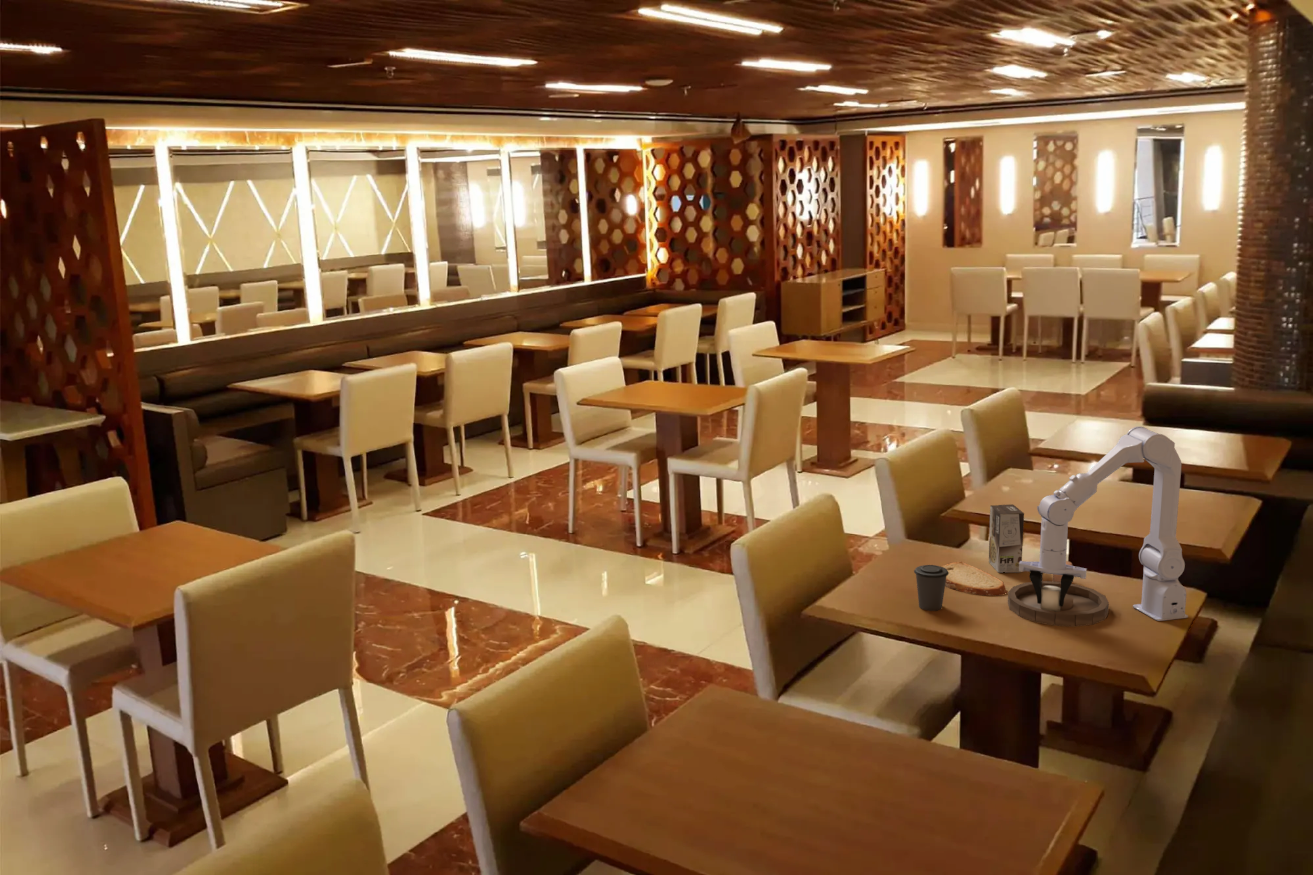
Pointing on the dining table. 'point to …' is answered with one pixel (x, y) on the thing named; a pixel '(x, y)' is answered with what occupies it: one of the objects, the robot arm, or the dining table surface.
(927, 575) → the coffee cup
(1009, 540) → the coffee box
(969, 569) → the bread slice
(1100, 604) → the groove tray
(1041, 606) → the translucent white cylinder
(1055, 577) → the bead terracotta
